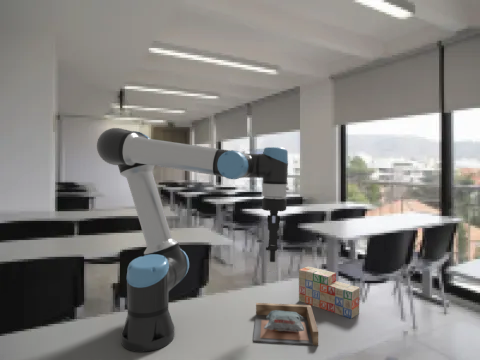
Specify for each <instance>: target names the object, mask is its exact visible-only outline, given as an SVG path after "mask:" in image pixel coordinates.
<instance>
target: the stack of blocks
mask: <svg viewBox="0 0 480 360" xmlns="http://www.w3.org/2000/svg"><path fill="white" fill-rule="evenodd" d="M360 291H361V288H360V287H359V286H356V285H352V284H349V283H344V282H341V281H337V273H336V272H334V271H330V270H329V271H328V270H325V269H320V268H316V267H313V266H306V267H302V268H300V269H298V301H299V302H301V303H304V304H306V305H311V306H313V307H316V308H318V309H321V310H324V309H325V310H326V311H327V312H330V311H331V312H330V313H333V312H334V314H336V315H338V316H339V315H340V316H341V317H342V316H343V317H345V318H348V319H353V318H355V317H356V316H358V315H359V314H360V296H361V293H360Z"/></svg>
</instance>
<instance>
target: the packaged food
mask: <svg viewBox="0 0 480 360" xmlns="http://www.w3.org/2000/svg"><path fill="white" fill-rule="evenodd" d="M266 318H267V319H268V320H269V322H268V323H267V324H266V325H265V327H264V329H266V328H267V329H270V330H272V331H285V332H299V331H304V327H303V324H302V323H301V320H302V319H303V317H302V316H301V315H299V314H298V313H296V312H290V311H278V310H275V311H271V312H270V313H269V314H268V316H267V317H266Z"/></svg>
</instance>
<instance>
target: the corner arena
mask: <svg viewBox="0 0 480 360" xmlns="http://www.w3.org/2000/svg"><path fill="white" fill-rule="evenodd" d="M255 303H256V305H255V319H254V320H255V321H254V329H253V339H252V341H253V343H265V344H267V343H269V344H283V345H284V344H285V345H303V346H316V347H317V346H318V347H319V329H318V326H317V322H316V318H315V315H314V311H313V308H312V305H310V304H295V303H293V304H292V303H291V304H289V303H270V302H269V303H268V302H267V303H266V302H265V303H264V302H255ZM275 310H278V311H290V312H296V313H298V314H299V315H301V316H302V317H303V319H302V320H301V323H302V324H303V327H304V331H299V332H285V331H272V330H270V329H267V328H266V329H264V327H265V325H266V324H267V323H268V322H269V320H268V319H267V318H266V317H267V316H268V314H269V313H270V312H271V311H275Z"/></svg>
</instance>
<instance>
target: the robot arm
mask: <svg viewBox="0 0 480 360" xmlns="http://www.w3.org/2000/svg"><path fill="white" fill-rule="evenodd" d="M96 149H97V153H98V156H99V157H100V158H101V159H102V160H103V161H104V162H106V163H107V164H109V165H114V166H117V167H118V170H119V174H120V175H121V176H122V177H125V178H126V180H127V183H128V187H129V191H130V193H131V197H132V200H133V203H134V207H135V210H136V214H137V217H138V221H139V224H140V227H141V231H142V234H143V238H144V240H145V241H144V242H145V244H146V248H145V250H144V251H143V256H138V257H136V258H134V259H132V260H131V261H130V262H129V264H128V266H127V273H126V292H127V293H126V295H127V296H126V297H127V299H126V301H127V315H126V318H125V321H124V324H123V328H122V329H121V330H122V331H121V334H120V336H121V337H120V338H121V339H120V340H121V341H120V342H121V345H122V347H123V348H125V349H126V350H128V351H131V352H139V353H142V352H144V353H145V352H150V351H151V352H152V351H155V350H159V349H161V348H162V349H163V348H164V347H166V346H167V345H169V344H171V342H173V340H174V338H175V325H174V322H173V319H172V317H171V314H170V313H171V312H170V310H169V293H170V291H171V290H172V289H173V288H174V287H176V286H177V285H178V284H179V283H181V282H182V281H183V280H184V278H185V277H186V276H187V273H188V271H189V268H190V261H189V257H188V255H187V253H186V251H184V250H183V249H182V248H181V247H180V243H179V241H177V240H176V239H174V238H173V236H172V234H171V230H170V226H169V223H168V220H167V217H166V213H165V210H164V207H163V203H162V199H161V196H160V193H159V189H158V186H157V183H156V180H155V178H154V177H155V176H154V173H153V171H154V169H155V166H156V167H161V168H168V169H173V170H174V169H175V170H179V171H186V172H192V173H199V174H204V175H212V176H216V177H222V178H226V179H227V180H239V179H242V178H243V179H244V178H247V179H248V178H252V179H253V178H254V179H255V178H258V179H262V189H261V190H262V191H261V192H262V193H261V196H262V197H263V198H261V200H262V201H261V209H262V210H263V211H267V212H269V214H267V217H266V222H267V230H268V247H267V246H266V247H265V251H267V268H266V269H267V270H266V271H267V273H274V274H277V273H278V271H277V270H278V248H279V247H278V240H280V235H278V232H279V230H280V223H281V216H280V215H278V213H279V212H285V211H286V210H287V199H286V197H287V191H289V190H290V188H289V187H287V186H288V171H289V170H288V167H289V166H288V165H289V156H288V155H289V154H288V149H286V148H284V147H276V146H275V147H272V146H271V147H270V146H269V147H264V148H263V152H262V153H244V152H241V151H238V150H233V149H230V150H227V149H221V148H220V149H219V148H216V147H215V148H214V147H210V146H200V145H193V144H188V143H182V142H181V143H180V142H176V141H175V142H172V141H167V140H160V139H154V138H153V139H152V138H150V136H149V135H146V134H144V133H142V132H141V131H140V132H139V131H134V130H130V129H129V130H128V129H126V128H125V129H124V128H119V127H113V128H108V129H106V130H105V131H103V132H102V133H101V134H100V135H99V137H98V138H97V141H96Z"/></svg>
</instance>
